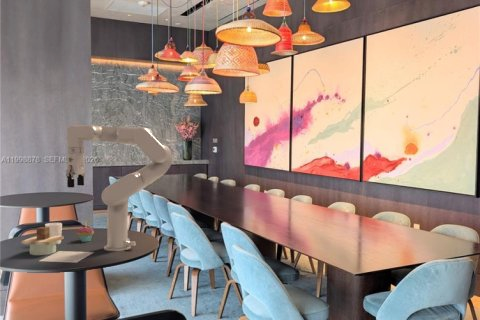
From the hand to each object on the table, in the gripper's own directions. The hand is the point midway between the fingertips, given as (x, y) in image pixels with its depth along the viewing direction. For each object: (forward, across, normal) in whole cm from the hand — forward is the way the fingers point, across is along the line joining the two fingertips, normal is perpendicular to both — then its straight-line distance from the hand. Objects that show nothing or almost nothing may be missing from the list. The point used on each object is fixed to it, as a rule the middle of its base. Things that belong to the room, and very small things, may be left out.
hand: (75, 186), depth 202 cm
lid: (+25, -10, +11) cm, 29 cm away
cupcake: (+31, +16, +3) cm, 35 cm away
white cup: (+31, +8, +16) cm, 35 cm away
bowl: (+30, -10, +11) cm, 34 cm away
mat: (+30, -16, -4) cm, 34 cm away
